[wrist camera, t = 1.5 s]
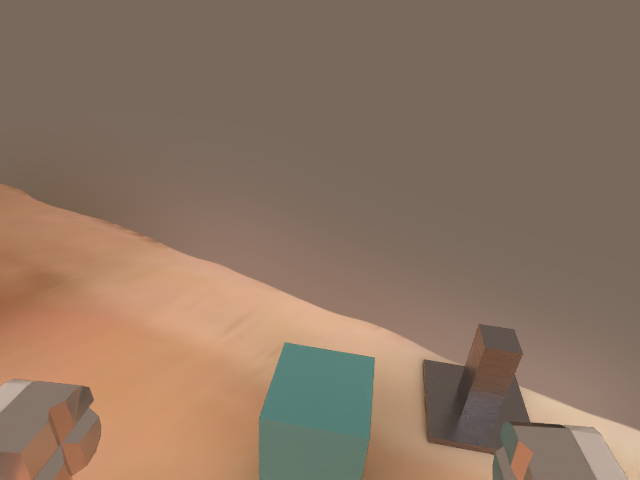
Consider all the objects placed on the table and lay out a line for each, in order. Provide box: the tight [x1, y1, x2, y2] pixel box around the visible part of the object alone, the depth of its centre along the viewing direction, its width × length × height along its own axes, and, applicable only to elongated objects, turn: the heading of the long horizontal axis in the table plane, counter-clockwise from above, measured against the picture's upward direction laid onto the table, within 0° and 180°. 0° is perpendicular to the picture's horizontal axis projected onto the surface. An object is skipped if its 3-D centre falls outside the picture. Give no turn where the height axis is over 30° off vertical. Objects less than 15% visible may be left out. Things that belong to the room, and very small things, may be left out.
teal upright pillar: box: [259, 343, 375, 480], centre depth 26 cm, size 6×6×10 cm
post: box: [423, 324, 530, 455], centre depth 33 cm, size 8×8×8 cm
